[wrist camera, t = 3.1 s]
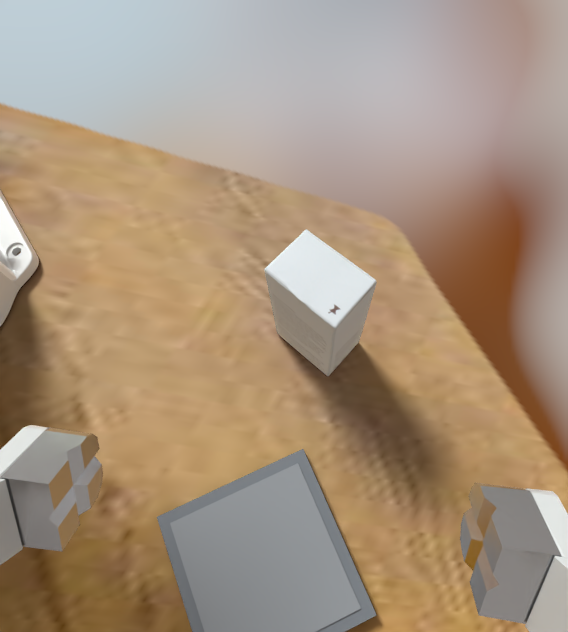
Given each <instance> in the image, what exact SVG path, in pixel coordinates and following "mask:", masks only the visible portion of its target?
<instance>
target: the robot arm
mask: <svg viewBox="0 0 568 632" xmlns="http://www.w3.org/2000/svg"><path fill="white" fill-rule="evenodd" d="M20 251H21V253H20V254H19V255H17V254H18V253H19V252H20ZM38 264H39V259H38V256H37V254H36V252H35V251H34V249H33V247H32V245H31V244H30V242H29V240H28V238H27V236H26V235H25V233H24V231H23V229H22V228H21V226H20V224H19V222H18V220H17V219H16V217H15V215H14V213H13V212H12V210H11V208H10V206H9V204H8V203H7V201H6V199H5V197H4V196H3V194H2V192H1V190H0V326H1V325H2V323H3V322H4V320H5V319H6V317H7V315H8V313H9V311H10V309H11V307H12V304H13V302H14V299H15V297H16V295H17V293H18V291H19V289H20V288H21V287H22V286H23V285H24V284H25V282H26V281H27V280H28V279H29V278H30V277H31V276H32V274H33V273H34V272H35V270H36V269H37V267H38ZM98 450H99V444H98V438H97V436H95V435H93V434H90V433H83V432H77V431H70V430H64V429H57V428H47V427H41V426H35V425H29V426H26V427H23V428H22V429H21V430H20V431H19V432H18V433H17V434H16V435H15V436H14V437H13V438H12V439H11V440H10V441H9V442H8V443H7V444H6V445H5V446H4V447H3V448H2V449H1V450H0V565H1V564H3V563H4V562H5V561H7V560H8V559H10V558H11V557H12V556H14V555H15V554H17V553H18V552H19V551H21V550H22V549H23V547H30V548H39V549H47V550H55V551H63V550H64V548H65V547H66V545H67V544H68V542H69V541H70V539H71V538H72V536H73V535H74V533H75V532H76V530H77V529H78V527H79V526H80V522H79V516H78V515H80V514H82V513H83V512H85V511H87V510H88V509H90V508H91V507H92V505H93V504H94V502H95V500H96V499H97V497H98V494H99V491H100V488H101V485H102V477H103V471H102V464H101V463H100V462H99V461H98V460H97V459H96V457H95V454H96V453H97V452H98ZM469 500H470V503H471V506H472V508H471V509H469V510H468V511H466V512H465V513H464V515H463V519H462V523H461V536H460V540H461V548H462V553H463V557H464V562H465V563H466V564H467V565H468V566H469V567H470V568H471V569H472V570H473V574H472V577H471V580H470V585H471V588H472V592H473V596H474V599H475V603H476V607H477V611H478V614H479V615H480V616H485V617H491V618H496V619H502V620H507V621H513V622H518V623H524V624H526V625H525V626H526V628H527V629H528V630H529V631H530V632H568V514H567V512H566V510H565V508H564V507H563V505H562V503H561V501H560V499H559V498H558V496H557V495H556V494H555V493H554V492H552V491H545V490H535V489H523V488H515V487H506V486H498V485H490V484H481V483H475V484H474V485H473V486H472V488H471V491H470V494H469Z"/></svg>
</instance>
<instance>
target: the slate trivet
mask: <svg viewBox="0 0 568 632" xmlns="http://www.w3.org/2000/svg"><path fill="white" fill-rule="evenodd" d="M157 519H158V522H159V525H160V529H161V532H162V535H163V538H164V542H165V545H166V548H167V551H168V555H169V558H170V561H171V564H172V567H173V571H174V574H175V577H176V580H177V584H178V587H179V590H180V593H181V596H182V600H183V603H184V606H185V609H186V613H187V616H188V619H189V622H190V626H191V629H192V632H345V631H347V630H349V629H351V628H353V627H355V626H357V625H359V624H361V623H363V622H365V621H367V620H369V619H370V618H372V617H374V616H376V613H375V610H374V608H373V606H372V604H371V601H370V599H369V597H368V594H367V592H366V590H365V588H364V585H363V583H362V581H361V579H360V576H359V574H358V572H357V570H356V567H355V565H354V563H353V561H352V558H351V556H350V554H349V552H348V549H347V547H346V545H345V542H344V540H343V538H342V536H341V533H340V531H339V529H338V527H337V524H336V522H335V520H334V518H333V515H332V513H331V511H330V509H329V506H328V504H327V502H326V500H325V497H324V495H323V493H322V490H321V488H320V486H319V484H318V481H317V479H316V477H315V475H314V472H313V470H312V468H311V466H310V463H309V461H308V459H307V457H306V454H305V452H304V450H303V449H302V450H300V451H297V452H295V453H293V454H291V455H289V456H287V457H285V458H282V459H280V460H278V461H276V462H274V463H272V464H270V465H267V466H265V467H263V468H261V469H259V470H257V471H255V472H252V473H250V474H248V475H246V476H244V477H242V478H240V479H237V480H235V481H233V482H231V483H229V484H227V485H225V486H222V487H220V488H218V489H216V490H214V491H212V492H210V493H207V494H205V495H203V496H201V497H199V498H197V499H194V500H192V501H190V502H188V503H186V504H184V505H182V506H179V507H177V508H175V509H173V510H171V511H169V512H167V513H164V514H162V515H160V516H158V517H157Z"/></svg>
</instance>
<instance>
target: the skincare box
mask: <svg viewBox="0 0 568 632" xmlns="http://www.w3.org/2000/svg"><path fill="white" fill-rule="evenodd" d="M265 275H266V280H267V285H268V290H269V295H270V300H271V305H272V310H273V315H274V320H275V325H276V330H277V334H279V335H280V336H281V337H282V338H283V339H284V340H286V341H287V342H288V343H289V344H290V345H291V346H293V347H294V348H295V349H296V350H297V351H298V352H300V353H301V354H302V355H303V356H304V357H305V358H307V359H308V360H309V361H310V362H311V363H312V364H314V365H315V366H316V367H317V368H318V369H320V370H321V371H322V372H323V373H324V374H325V375H326V376H329V375H330V374H331V373H332V372H333V371H334V370H335V368H336V367H337V366H338V365H339V364H340V363H341V362H342V361H343V360H344V359H345V357H346V356H347V355H348V354H349V353H350V352H351V350H352V349H353V348H354V347H355V346H356V345H357V344H358V343H359V340H360V337H361V333H362V330H363V327H364V323H365V320H366V317H367V313H368V310H369V307H370V303H371V300H372V296H373V293H374V290H375V286H376V280H375V279H373V278H372V277H371V276H369V275H368V274H367V273H365V272H364V271H363V270H361V269H360V268H359V267H357V266H356V265H355V264H353V263H352V262H350V261H349V260H348V259H346V258H345V257H344V256H342V255H341V254H339V253H338V252H337V251H335V250H334V249H332V248H331V247H330V246H328V245H327V244H326V243H324V242H323V241H321V240H320V239H319V238H317V237H316V236H315V235H313V234H312V233H311V232H309V231H308V230H305V231H304V232H303V233H302V234H301V235H300V236H299V237H298V238H297V239H296V240H294V241H293V242H292V243H291V244H290V245H289V246H288V247H287V248H286V249H285V250H284V251H283V252H282V253H281V254H280V255H279V256H278V257H277V258H276V259H275V260H274V261H273V262H271V263H270V264H269V265H268V266H267V267H266V268H265Z"/></svg>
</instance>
